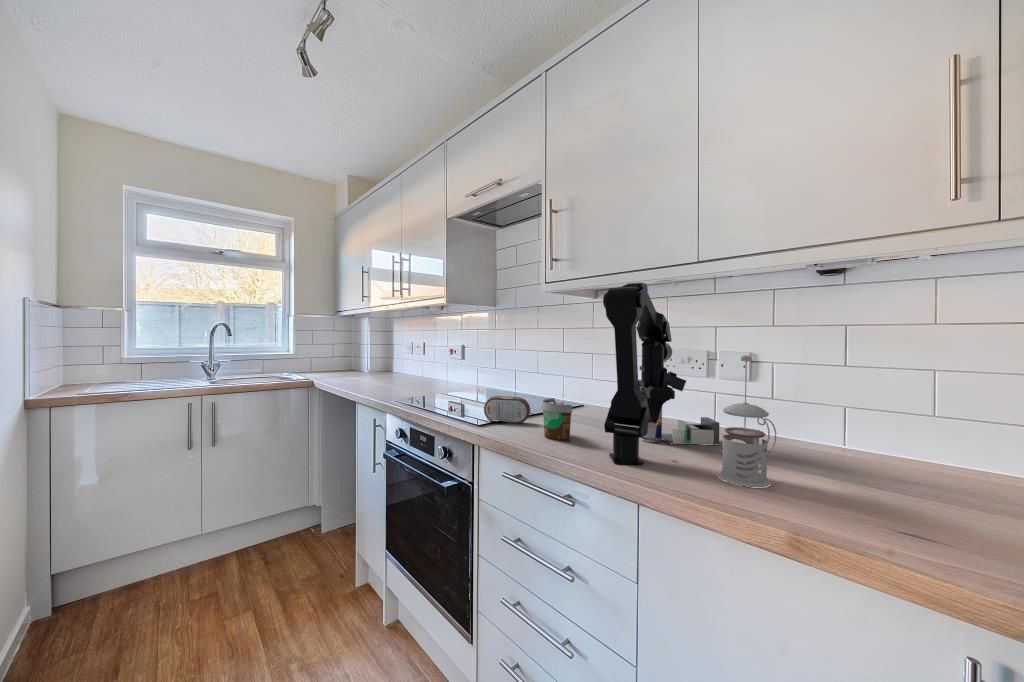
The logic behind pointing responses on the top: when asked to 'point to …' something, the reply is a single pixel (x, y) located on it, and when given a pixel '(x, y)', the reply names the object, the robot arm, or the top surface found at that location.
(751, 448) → the french press
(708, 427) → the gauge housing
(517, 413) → the tin
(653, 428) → the energy drink
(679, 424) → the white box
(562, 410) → the food container
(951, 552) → the top surface
